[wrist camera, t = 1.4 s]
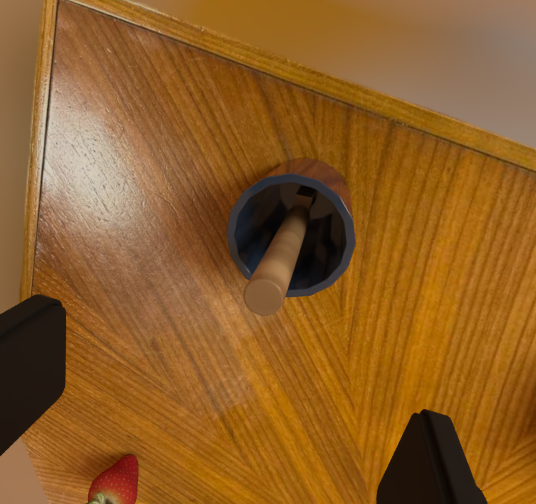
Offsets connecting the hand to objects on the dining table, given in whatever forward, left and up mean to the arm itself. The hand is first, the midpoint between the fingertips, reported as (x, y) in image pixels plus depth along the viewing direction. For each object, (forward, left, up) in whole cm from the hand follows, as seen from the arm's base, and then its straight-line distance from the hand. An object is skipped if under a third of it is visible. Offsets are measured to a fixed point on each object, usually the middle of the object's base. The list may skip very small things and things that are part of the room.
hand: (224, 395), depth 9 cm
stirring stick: (0, 0, -21) cm, 21 cm away
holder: (0, 0, -22) cm, 22 cm away
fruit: (+35, -12, -22) cm, 43 cm away
